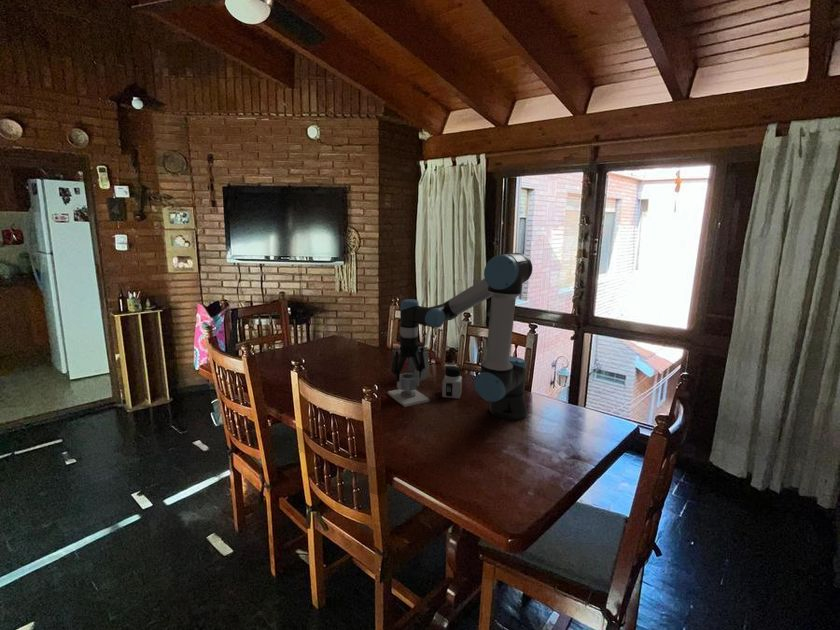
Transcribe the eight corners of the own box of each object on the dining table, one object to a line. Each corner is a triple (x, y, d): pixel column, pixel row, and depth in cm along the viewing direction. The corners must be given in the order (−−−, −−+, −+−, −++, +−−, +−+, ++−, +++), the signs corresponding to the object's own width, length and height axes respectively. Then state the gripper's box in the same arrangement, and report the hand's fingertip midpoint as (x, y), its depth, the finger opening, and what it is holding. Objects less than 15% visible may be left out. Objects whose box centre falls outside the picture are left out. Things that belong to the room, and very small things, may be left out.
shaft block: (429, 401, 188) (429, 385, 187) (404, 406, 182) (404, 390, 181) (411, 389, 202) (411, 374, 200) (387, 393, 196) (387, 378, 194)
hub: (420, 388, 190) (420, 377, 189) (404, 391, 186) (404, 380, 185) (411, 382, 196) (411, 371, 195) (395, 385, 192) (395, 374, 191)
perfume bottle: (419, 381, 211) (420, 345, 208) (408, 378, 215) (409, 343, 212) (427, 378, 217) (428, 342, 213) (417, 375, 221) (417, 340, 217)
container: (459, 398, 192) (460, 370, 189) (442, 397, 193) (442, 368, 191) (461, 392, 199) (462, 364, 197) (444, 390, 201) (445, 363, 198)
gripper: (425, 331, 194) (424, 379, 199) (382, 336, 184) (382, 387, 189) (434, 335, 188) (433, 385, 193) (390, 340, 178) (390, 393, 183)
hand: (408, 386), depth 191 cm, fingers closed on hub, 8 cm apart
